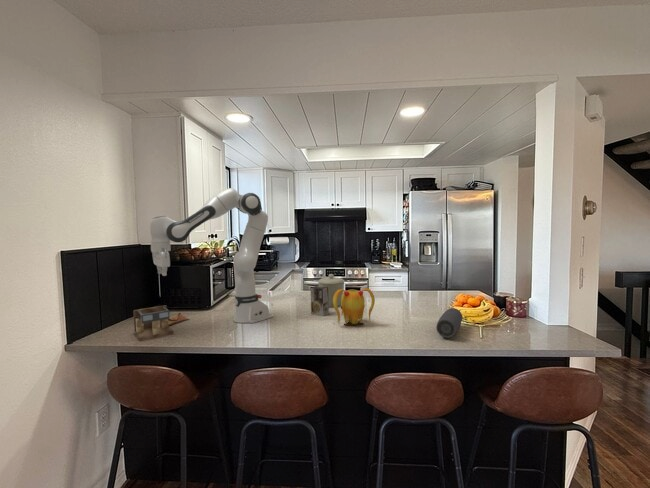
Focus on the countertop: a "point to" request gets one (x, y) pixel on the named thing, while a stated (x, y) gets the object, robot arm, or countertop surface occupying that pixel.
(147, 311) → the display stand
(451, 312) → the bluetooth speaker
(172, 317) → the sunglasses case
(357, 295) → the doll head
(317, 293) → the coffee box
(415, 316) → the countertop surface
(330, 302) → the canister
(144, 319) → the glasses
